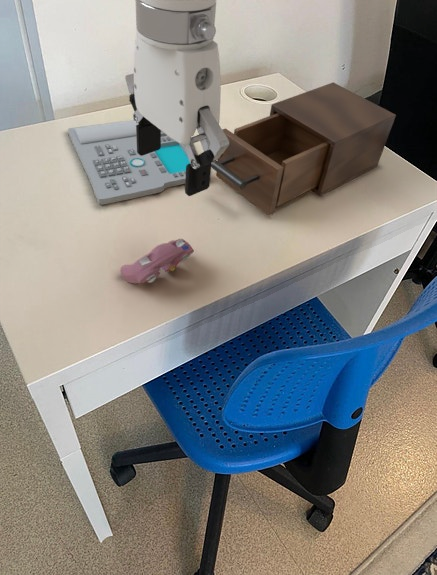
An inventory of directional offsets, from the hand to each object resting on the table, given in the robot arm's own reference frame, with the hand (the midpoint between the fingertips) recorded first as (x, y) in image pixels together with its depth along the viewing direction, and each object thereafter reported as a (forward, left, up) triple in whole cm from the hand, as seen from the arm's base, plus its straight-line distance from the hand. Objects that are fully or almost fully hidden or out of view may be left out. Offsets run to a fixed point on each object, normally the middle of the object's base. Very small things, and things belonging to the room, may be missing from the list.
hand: (172, 170), depth 60 cm
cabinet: (+6, -40, -17) cm, 44 cm away
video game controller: (0, +2, -17) cm, 17 cm away
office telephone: (+26, -12, -17) cm, 33 cm away
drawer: (+6, -25, -16) cm, 30 cm away
